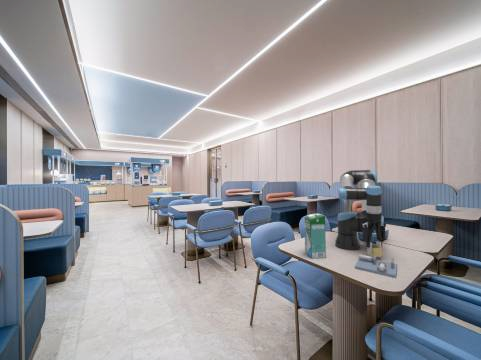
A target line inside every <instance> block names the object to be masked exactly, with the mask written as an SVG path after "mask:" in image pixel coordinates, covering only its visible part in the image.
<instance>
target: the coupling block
mask: <svg viewBox="0 0 481 360" xmlns="http://www.w3.org/2000/svg"><path fill="white" fill-rule="evenodd" d="M366 252H367V251H366ZM367 255H368V256H371V257H372V256H375V255H376V257H377V258H380V257H382V256H383V248H382V247H379V246H376V244H372V254H370V253H368V252H367Z"/></svg>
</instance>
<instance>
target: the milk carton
mask: <svg viewBox="0 0 481 360" xmlns="http://www.w3.org/2000/svg"><path fill="white" fill-rule="evenodd" d="M326 239H327V237H326V215H324V214H321V213H313V214H309V215H308V216H305V217H304V253H305V254H306V255H307V256H308V257H309V258H310V259H326V258H327V256H326V255H327V252H326V251H327V249H326V248H327V247H326V246H327V245H326V243H327V242H326Z"/></svg>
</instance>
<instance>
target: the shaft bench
mask: <svg viewBox="0 0 481 360" xmlns="http://www.w3.org/2000/svg"><path fill="white" fill-rule="evenodd" d="M377 258H378V257H376V255H375V256H371V255H365V254H360V253H359V254H358V260H357V261H356V263H355V264H354V269H356V270H360V271H365V272H368V273H372V274H377V275H382V276H386V277H389V278H396V279H397V272H398V271H397V270H398V263H396V262H395V260H394V259H395V258H391V260H390V262H389V261H384V260H379V259H377Z"/></svg>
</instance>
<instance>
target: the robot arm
mask: <svg viewBox="0 0 481 360" xmlns="http://www.w3.org/2000/svg"><path fill="white" fill-rule="evenodd" d="M339 177H340V178H339V182H340V184H341V187H339V188H338V190H337V191H338V199H339V200H343V201H346V200H347V201H349V200H350V201H351V200H352V201H360V202H361V203H360V204H361V211H360V212H359V214H358V213H357V212H356V211H344V212H339V213H338V214H337V236H336V239H335V242H334V243H335V244H334V245H335V247H336V248H339V249H342V250H348V251H358V250H360V249H361V243H360V240H359V237H358V233H361V234H362V241H364V242H366V243H365V244H366V245H365V247H366V248H367V249H366V252H368V253H370V254H372V245H373V242H372V241H371V240H372V237H373V235H376V238H377V240H375V241H376V242H375V245H376V246H379V247H381V248H382V247H383V243H384V242H385V241H386V239H387V236H386V227H387V223H386V222H384V220H385V218H384V216H383V215H382V212H383V211H382V209H383V208H382V204H383V203H382V196H383V195H382V194H383V192H382V187H381V185H377V184H378V176H377V173H376V170H374V169H359V170H358V169H357V170H348V171H346V172H344V173H343V174H341V175H340V176H339ZM354 186H357V187H354Z"/></svg>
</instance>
